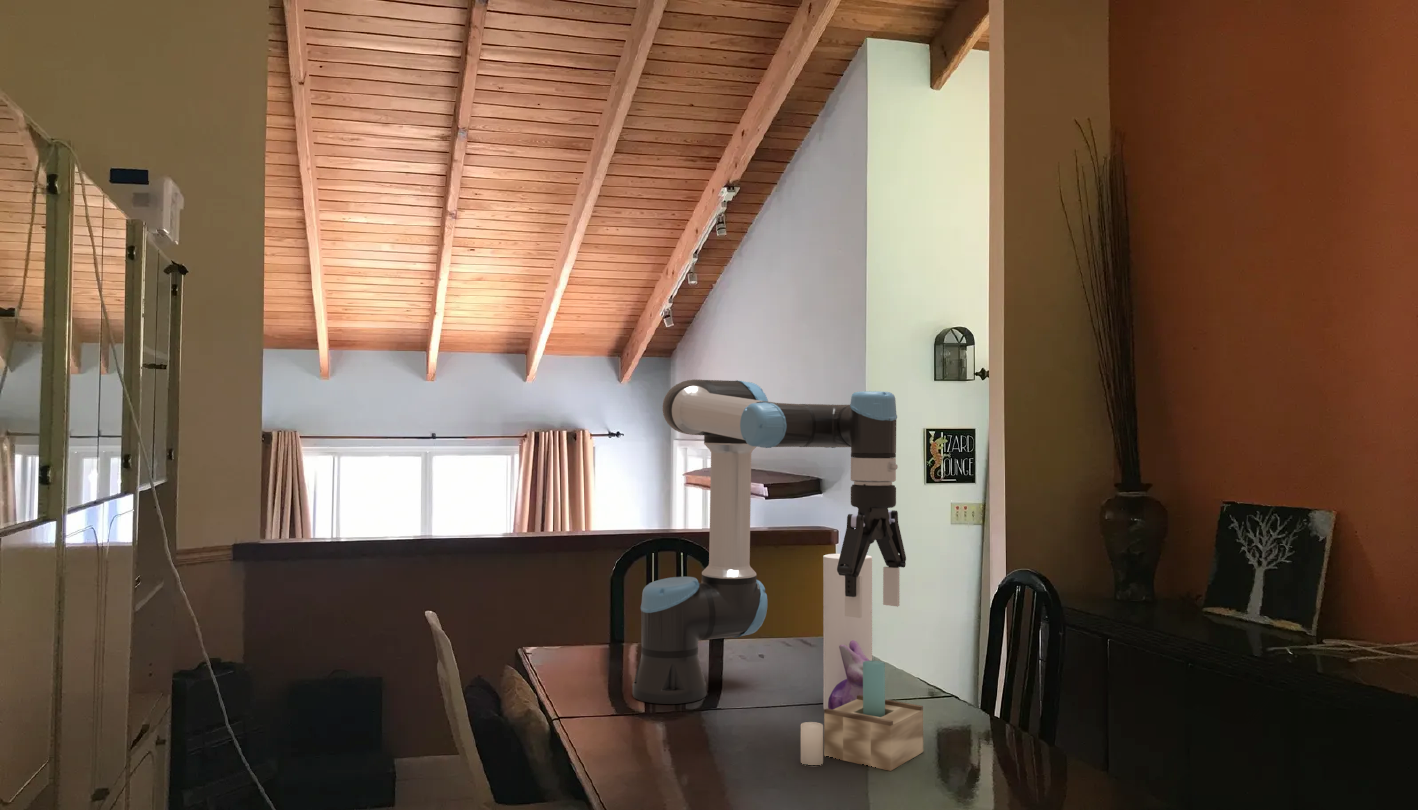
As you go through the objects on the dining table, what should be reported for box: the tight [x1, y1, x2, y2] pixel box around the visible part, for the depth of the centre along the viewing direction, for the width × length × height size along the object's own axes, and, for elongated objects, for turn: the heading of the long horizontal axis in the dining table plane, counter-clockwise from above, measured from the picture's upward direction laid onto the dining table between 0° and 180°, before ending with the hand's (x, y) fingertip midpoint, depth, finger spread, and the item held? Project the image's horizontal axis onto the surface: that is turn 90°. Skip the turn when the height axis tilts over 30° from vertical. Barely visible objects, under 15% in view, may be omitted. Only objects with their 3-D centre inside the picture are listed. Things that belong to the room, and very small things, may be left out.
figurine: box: [828, 640, 870, 710], centre depth 181 cm, size 9×10×15 cm
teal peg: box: [863, 660, 886, 717], centre depth 163 cm, size 4×4×15 cm
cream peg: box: [800, 721, 824, 766], centre depth 159 cm, size 4×4×6 cm
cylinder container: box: [822, 552, 873, 710], centre depth 191 cm, size 9×9×30 cm
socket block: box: [823, 695, 924, 772], centre depth 163 cm, size 12×12×8 cm
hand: (872, 611), depth 164 cm, fingers open, 13 cm apart
